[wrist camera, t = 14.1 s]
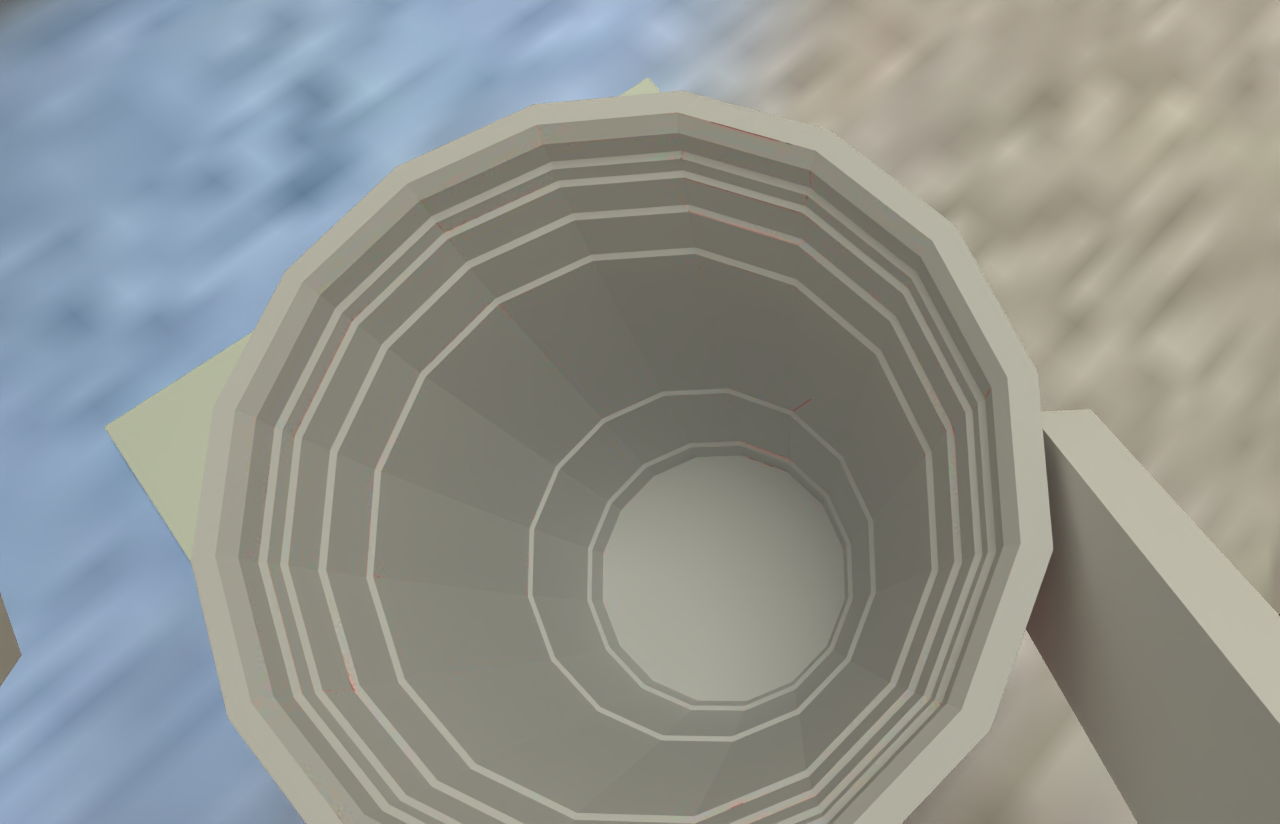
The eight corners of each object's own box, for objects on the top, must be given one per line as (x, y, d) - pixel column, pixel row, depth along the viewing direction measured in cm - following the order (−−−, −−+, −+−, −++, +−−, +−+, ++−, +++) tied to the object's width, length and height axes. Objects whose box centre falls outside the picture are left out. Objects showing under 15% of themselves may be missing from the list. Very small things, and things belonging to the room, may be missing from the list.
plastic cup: (1014, 364, 25) (1117, 90, 13) (940, 884, 23) (989, 1079, 11) (545, 302, 28) (299, 29, 16) (441, 762, 25) (75, 821, 14)
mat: (111, 432, 27) (103, 426, 27) (647, 86, 30) (648, 77, 30) (498, 1033, 23) (496, 1037, 23) (1068, 562, 26) (1074, 559, 26)
